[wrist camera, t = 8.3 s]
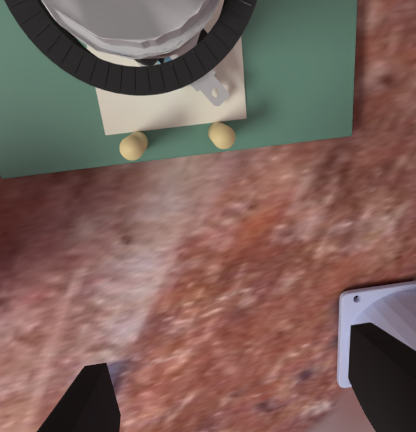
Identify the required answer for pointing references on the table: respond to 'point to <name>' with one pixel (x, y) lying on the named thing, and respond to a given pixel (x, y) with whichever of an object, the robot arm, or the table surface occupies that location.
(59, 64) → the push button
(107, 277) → the table surface
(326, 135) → the board
